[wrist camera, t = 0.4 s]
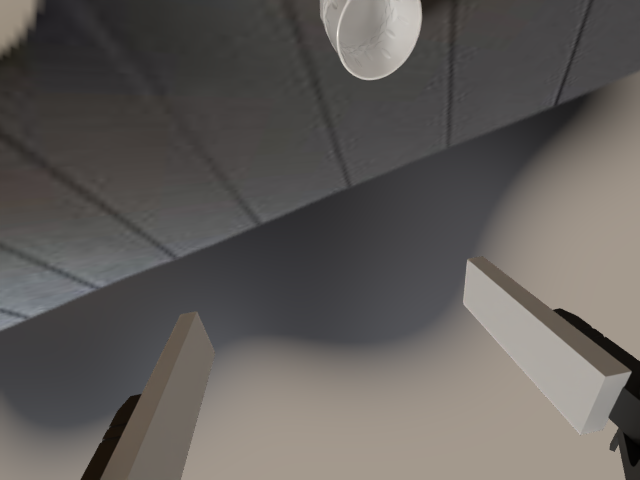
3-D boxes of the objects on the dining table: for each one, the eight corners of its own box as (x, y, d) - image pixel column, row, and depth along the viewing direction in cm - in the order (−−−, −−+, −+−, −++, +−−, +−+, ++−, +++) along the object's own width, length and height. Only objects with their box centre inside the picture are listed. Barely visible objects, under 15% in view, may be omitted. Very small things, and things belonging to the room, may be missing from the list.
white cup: (396, -7, 32) (439, 18, 26) (351, 60, 36) (377, 95, 30) (345, -68, 27) (381, -56, 21) (299, 16, 31) (319, 47, 25)
